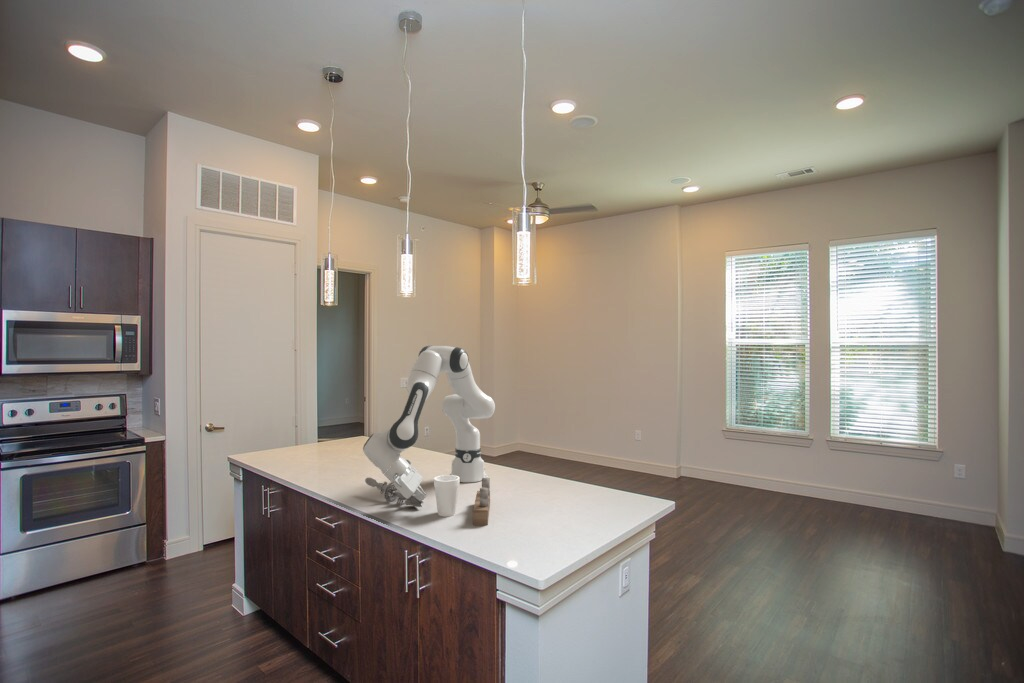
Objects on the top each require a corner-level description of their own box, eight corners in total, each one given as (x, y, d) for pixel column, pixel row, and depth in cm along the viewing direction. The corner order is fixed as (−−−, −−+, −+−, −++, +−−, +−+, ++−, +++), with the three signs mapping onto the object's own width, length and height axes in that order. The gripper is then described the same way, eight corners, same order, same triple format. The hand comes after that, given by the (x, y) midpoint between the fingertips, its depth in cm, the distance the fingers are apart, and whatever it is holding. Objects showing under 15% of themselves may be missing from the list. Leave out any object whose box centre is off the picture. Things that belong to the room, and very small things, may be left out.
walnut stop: (477, 503, 199) (477, 475, 199) (490, 503, 199) (490, 475, 199) (473, 525, 175) (473, 492, 175) (487, 525, 175) (487, 492, 175)
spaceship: (375, 472, 216) (361, 468, 210) (432, 495, 195) (418, 492, 189) (368, 490, 214) (354, 487, 208) (425, 516, 193) (410, 513, 187)
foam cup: (464, 512, 188) (464, 477, 188) (449, 519, 180) (449, 482, 180) (444, 508, 193) (444, 473, 193) (428, 515, 185) (428, 479, 185)
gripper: (398, 471, 176) (426, 500, 176) (409, 458, 197) (434, 484, 197) (385, 484, 176) (413, 513, 176) (397, 470, 197) (423, 495, 197)
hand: (424, 497), depth 187 cm, fingers closed
